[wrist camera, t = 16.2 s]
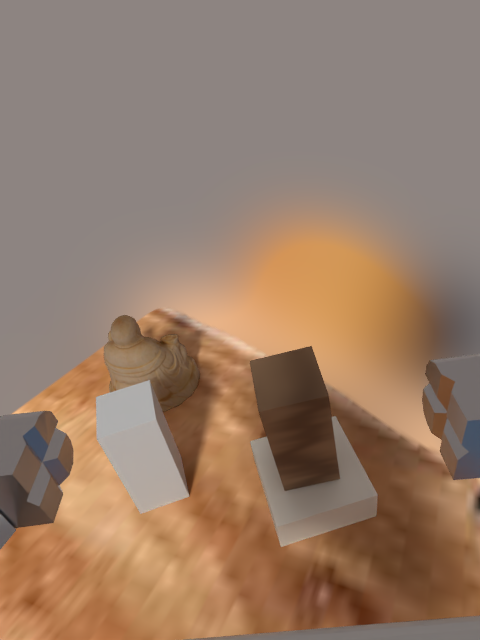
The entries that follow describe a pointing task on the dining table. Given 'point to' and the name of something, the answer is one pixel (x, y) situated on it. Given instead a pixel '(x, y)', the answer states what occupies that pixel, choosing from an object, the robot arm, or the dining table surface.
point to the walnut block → (296, 417)
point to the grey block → (141, 446)
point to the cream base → (316, 494)
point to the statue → (149, 363)
